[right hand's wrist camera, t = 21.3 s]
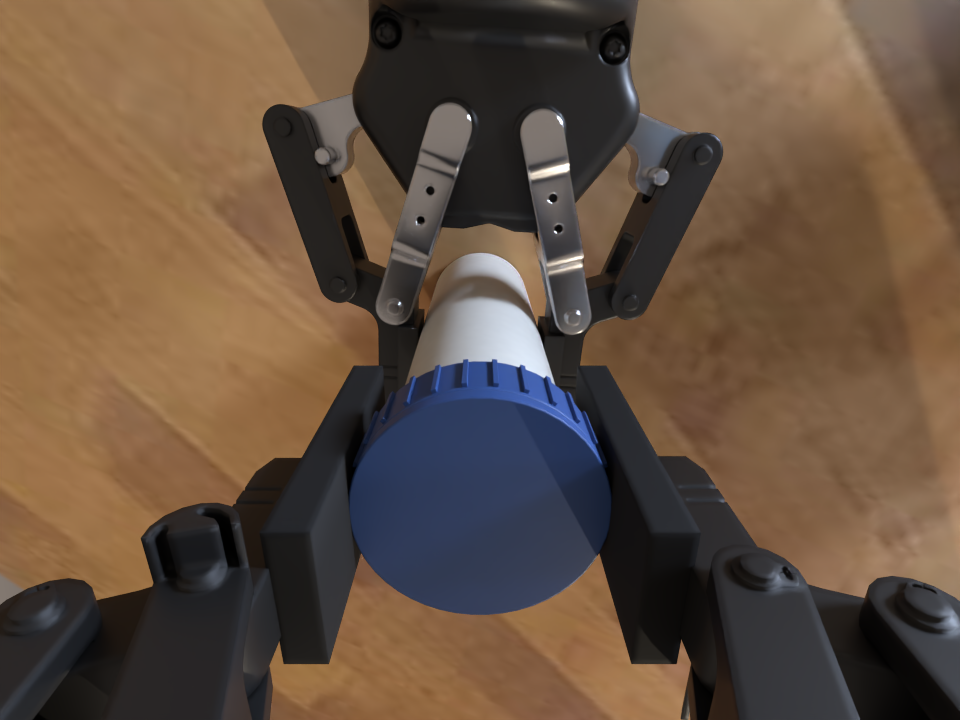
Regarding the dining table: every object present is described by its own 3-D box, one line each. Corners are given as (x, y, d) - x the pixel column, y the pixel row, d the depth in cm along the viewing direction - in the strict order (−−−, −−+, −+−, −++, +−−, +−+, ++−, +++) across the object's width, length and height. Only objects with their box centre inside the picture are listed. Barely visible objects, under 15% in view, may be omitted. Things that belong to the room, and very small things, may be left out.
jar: (467, 233, 24) (450, 358, 10) (544, 286, 25) (624, 468, 11) (417, 309, 26) (340, 512, 11) (491, 357, 26) (504, 599, 12)
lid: (631, 511, 13) (653, 565, 11) (430, 587, 13) (423, 648, 12) (541, 315, 11) (552, 346, 9) (317, 417, 12) (290, 461, 10)
